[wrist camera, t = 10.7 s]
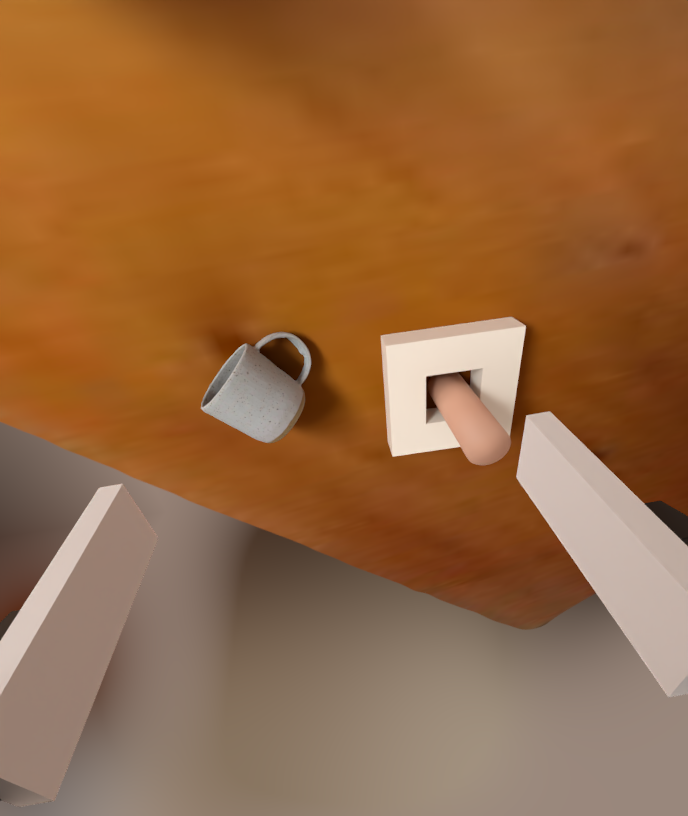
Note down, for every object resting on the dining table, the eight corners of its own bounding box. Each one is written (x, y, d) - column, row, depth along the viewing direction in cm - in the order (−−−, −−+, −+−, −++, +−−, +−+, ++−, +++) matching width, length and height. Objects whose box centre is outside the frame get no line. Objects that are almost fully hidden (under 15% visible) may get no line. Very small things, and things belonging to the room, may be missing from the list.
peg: (427, 371, 41) (466, 432, 31) (462, 366, 42) (513, 425, 31) (427, 401, 44) (464, 468, 33) (460, 396, 44) (508, 461, 33)
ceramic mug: (270, 422, 43) (265, 464, 37) (208, 383, 40) (190, 421, 33) (329, 357, 40) (334, 390, 33) (266, 308, 37) (258, 334, 30)
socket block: (380, 335, 39) (385, 346, 36) (511, 316, 39) (526, 326, 36) (387, 441, 46) (392, 456, 44) (498, 425, 46) (509, 439, 44)
